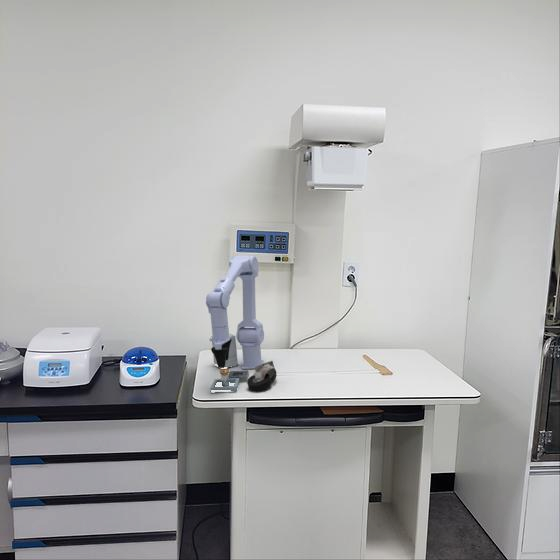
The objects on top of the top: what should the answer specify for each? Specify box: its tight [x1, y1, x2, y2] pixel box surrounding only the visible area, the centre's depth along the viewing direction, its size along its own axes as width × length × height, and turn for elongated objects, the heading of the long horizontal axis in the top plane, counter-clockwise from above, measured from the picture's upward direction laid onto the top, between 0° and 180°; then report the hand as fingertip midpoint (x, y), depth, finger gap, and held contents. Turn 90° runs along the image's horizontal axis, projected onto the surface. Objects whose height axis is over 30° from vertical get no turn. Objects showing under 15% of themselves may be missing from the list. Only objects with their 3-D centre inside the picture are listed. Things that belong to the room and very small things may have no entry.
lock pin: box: [219, 368, 230, 387], centre depth 176 cm, size 3×3×6 cm
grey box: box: [210, 333, 239, 368], centre depth 200 cm, size 7×7×13 cm
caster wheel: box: [246, 360, 278, 393], centre depth 175 cm, size 7×11×10 cm
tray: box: [209, 378, 241, 392], centre depth 176 cm, size 9×9×2 cm
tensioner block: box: [228, 369, 250, 383], centre depth 184 cm, size 7×7×2 cm
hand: (223, 363), depth 175 cm, fingers open, 7 cm apart
